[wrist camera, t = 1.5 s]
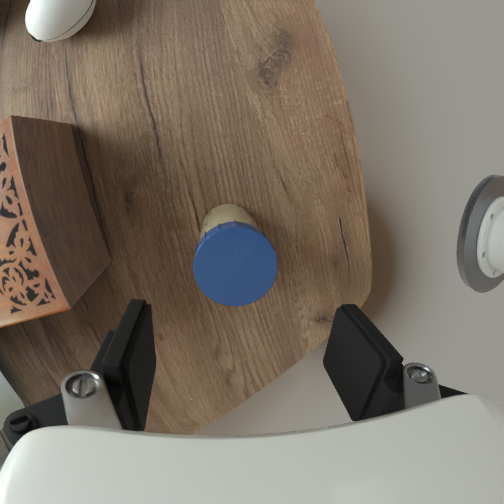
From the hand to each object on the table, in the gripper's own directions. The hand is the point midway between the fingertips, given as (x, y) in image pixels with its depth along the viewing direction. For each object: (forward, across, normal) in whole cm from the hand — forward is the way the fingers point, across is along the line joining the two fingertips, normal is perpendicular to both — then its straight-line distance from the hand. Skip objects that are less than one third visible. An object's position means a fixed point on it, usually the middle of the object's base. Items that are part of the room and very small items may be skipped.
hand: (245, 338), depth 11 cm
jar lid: (+8, 0, 0) cm, 8 cm away
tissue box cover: (+18, +26, +1) cm, 31 cm away
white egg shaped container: (+18, +18, -21) cm, 32 cm away
